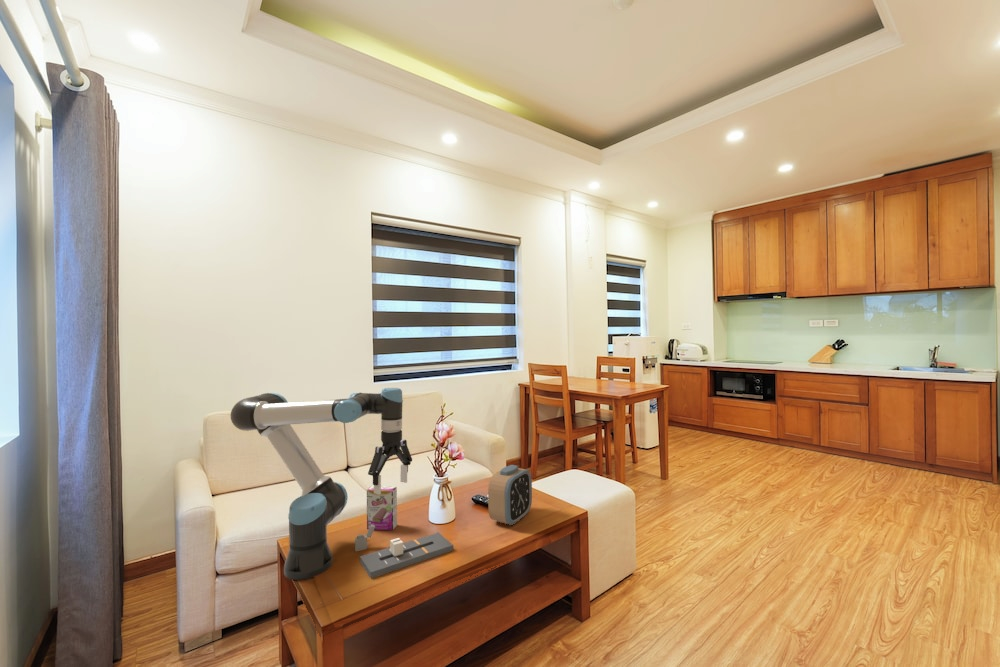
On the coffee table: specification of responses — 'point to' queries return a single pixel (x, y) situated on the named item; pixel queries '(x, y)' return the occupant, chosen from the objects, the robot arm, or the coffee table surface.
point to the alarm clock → (510, 494)
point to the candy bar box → (382, 508)
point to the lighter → (363, 539)
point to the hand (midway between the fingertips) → (391, 487)
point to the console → (405, 555)
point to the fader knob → (396, 547)
